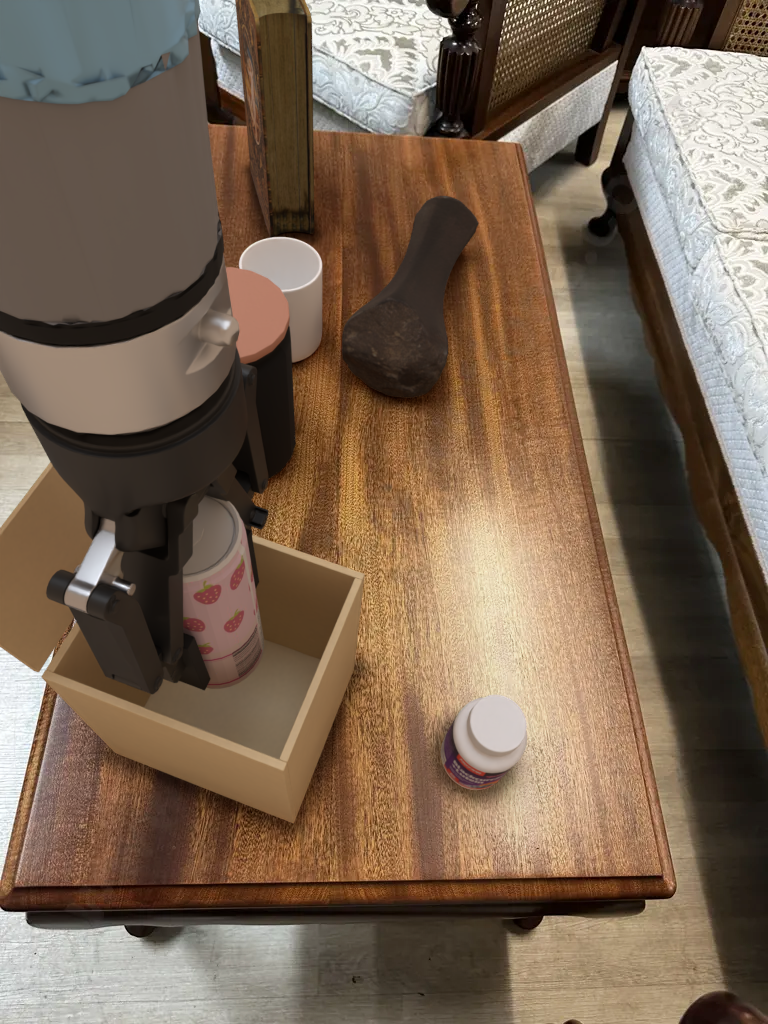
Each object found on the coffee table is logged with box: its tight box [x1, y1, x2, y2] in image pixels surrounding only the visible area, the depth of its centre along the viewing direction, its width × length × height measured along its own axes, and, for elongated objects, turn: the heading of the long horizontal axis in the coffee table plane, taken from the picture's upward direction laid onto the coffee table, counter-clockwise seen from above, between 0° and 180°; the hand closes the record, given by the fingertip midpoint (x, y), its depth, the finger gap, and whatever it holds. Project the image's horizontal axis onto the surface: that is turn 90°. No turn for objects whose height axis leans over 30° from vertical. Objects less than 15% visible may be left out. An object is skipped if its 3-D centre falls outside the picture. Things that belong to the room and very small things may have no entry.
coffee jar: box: [226, 266, 297, 480], centre depth 65 cm, size 11×11×18 cm
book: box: [234, 0, 315, 238], centre depth 83 cm, size 16×6×25 cm, turn 15°
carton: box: [41, 534, 366, 824], centre depth 51 cm, size 15×13×18 cm
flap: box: [0, 461, 93, 673], centre depth 41 cm, size 7×13×1 cm
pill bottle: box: [440, 694, 528, 791], centre depth 54 cm, size 5×5×10 cm
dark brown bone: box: [341, 195, 480, 399], centre depth 81 cm, size 11×10×28 cm
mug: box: [238, 236, 323, 363], centre depth 76 cm, size 12×8×10 cm
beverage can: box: [183, 495, 264, 689], centre depth 41 cm, size 6×6×15 cm
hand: (213, 626), depth 44 cm, fingers open, 6 cm apart
